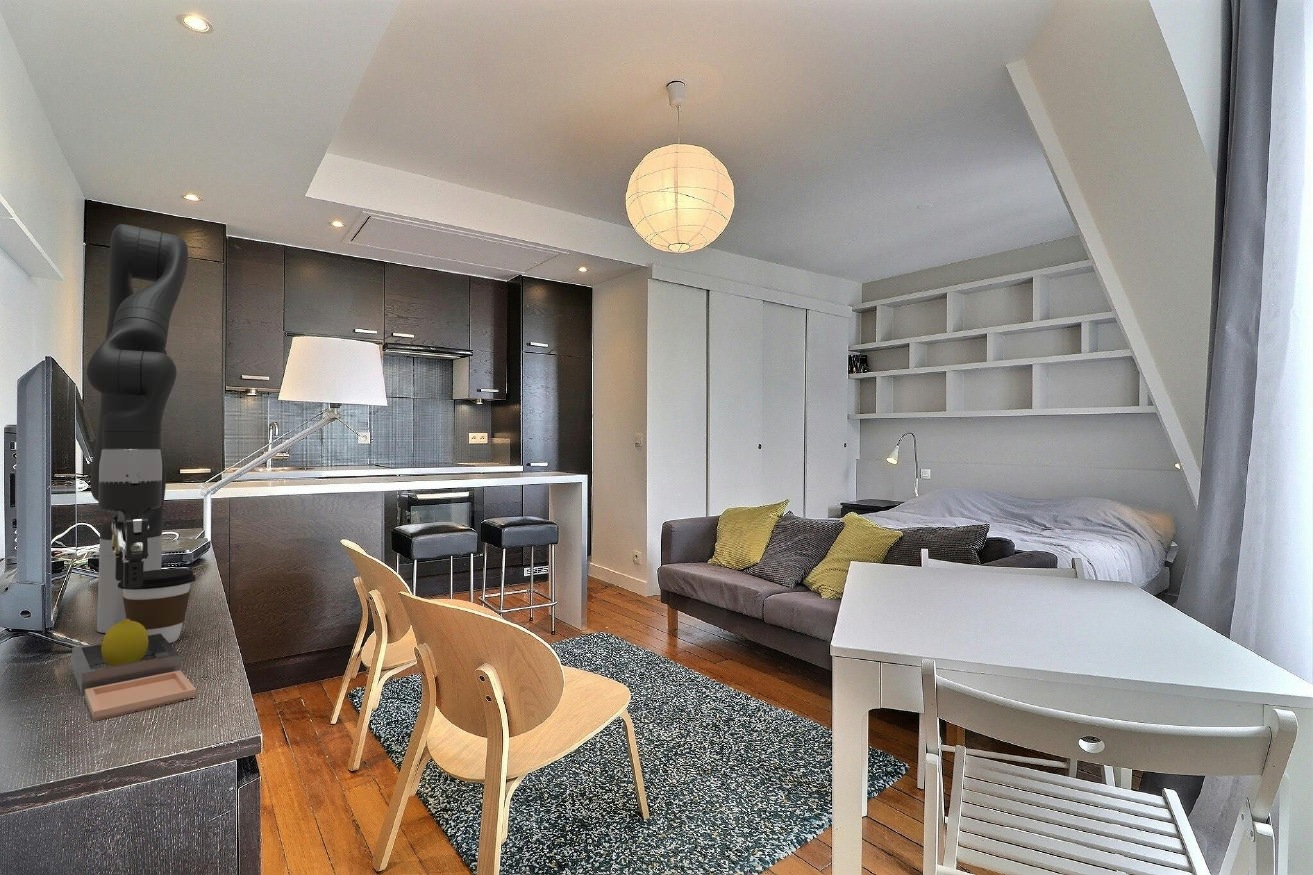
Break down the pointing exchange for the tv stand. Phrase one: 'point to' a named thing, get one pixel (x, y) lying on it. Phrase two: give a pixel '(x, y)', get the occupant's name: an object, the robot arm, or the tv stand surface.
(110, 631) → the lemon
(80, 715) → the tv stand surface
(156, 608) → the coffee cup
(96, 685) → the grey open box
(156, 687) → the tray
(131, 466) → the robot arm
